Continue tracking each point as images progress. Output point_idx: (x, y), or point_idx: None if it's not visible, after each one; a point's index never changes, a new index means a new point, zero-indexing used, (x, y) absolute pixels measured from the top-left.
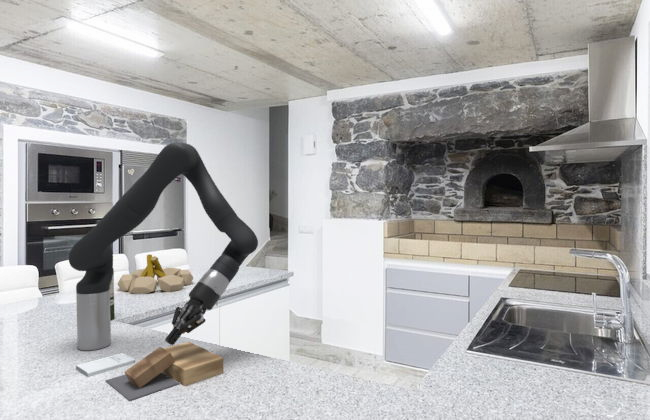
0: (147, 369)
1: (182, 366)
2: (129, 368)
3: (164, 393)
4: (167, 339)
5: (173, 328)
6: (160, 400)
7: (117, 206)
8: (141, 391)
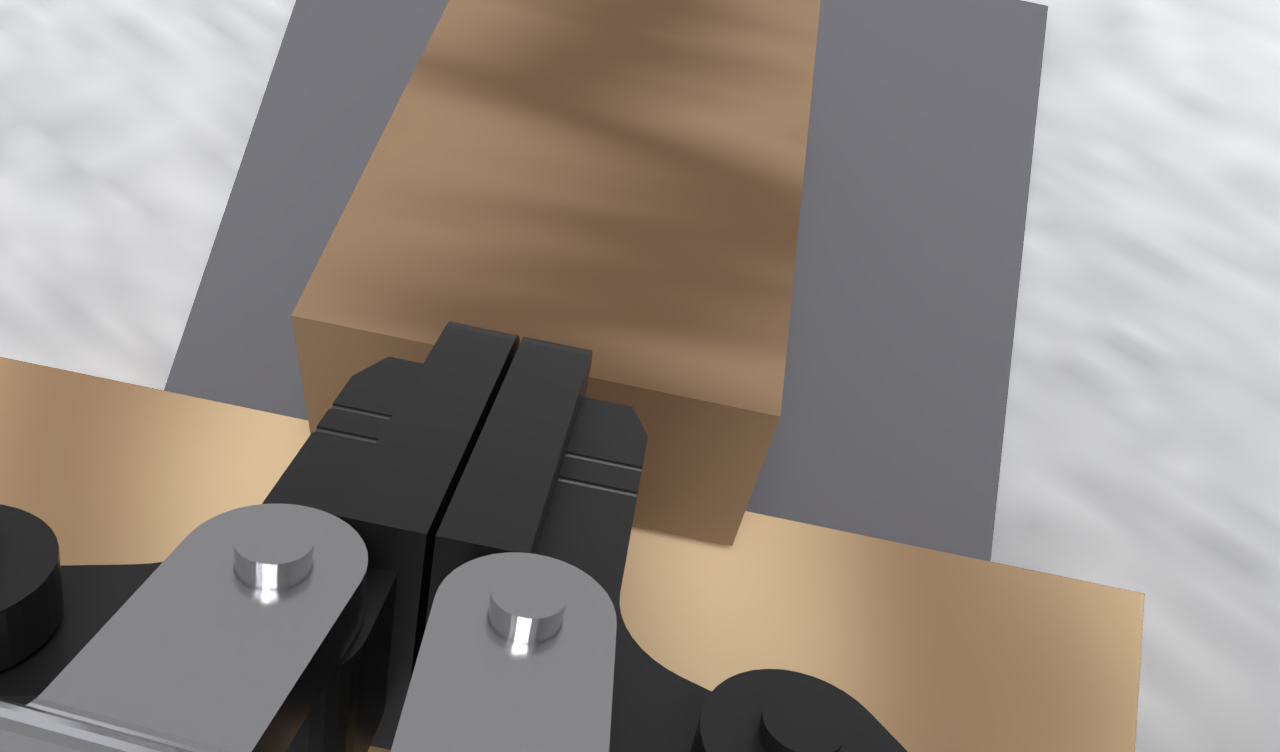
0: (438, 23)
1: (69, 423)
2: (814, 24)
3: (140, 155)
4: (487, 335)
5: (531, 546)
6: (44, 29)
7: None
8: (400, 28)
